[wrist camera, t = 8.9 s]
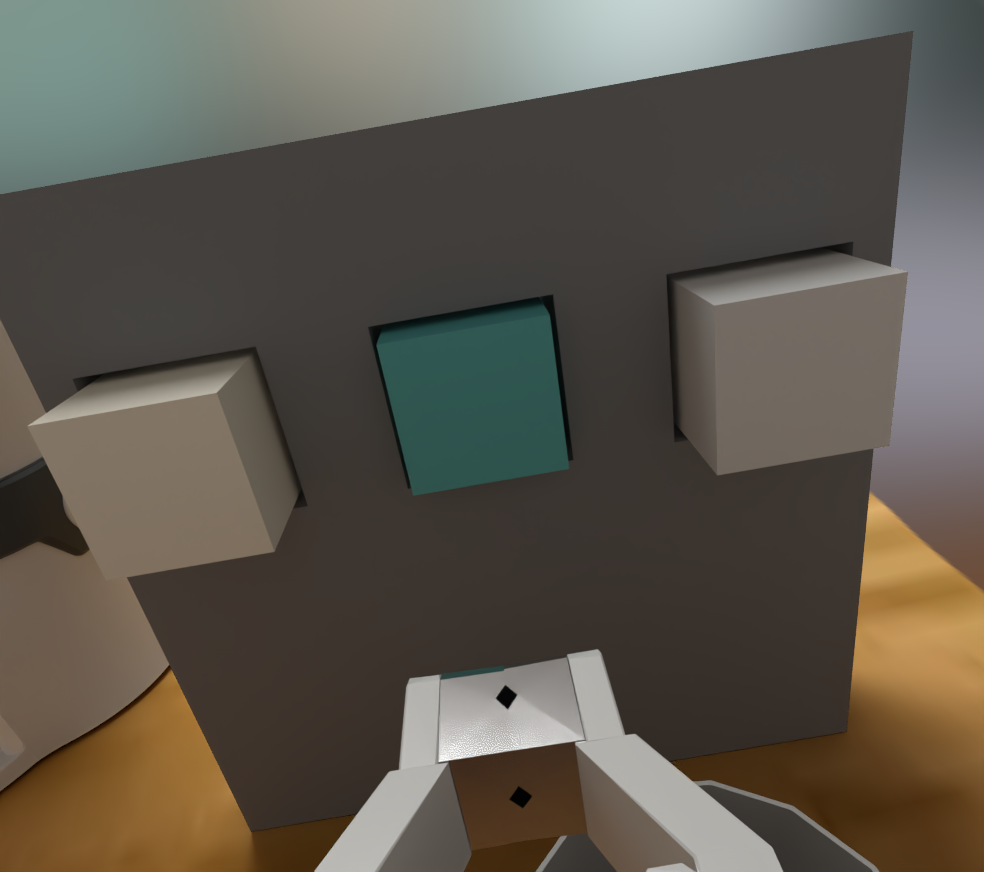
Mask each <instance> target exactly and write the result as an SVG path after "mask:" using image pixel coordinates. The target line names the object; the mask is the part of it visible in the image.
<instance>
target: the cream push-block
mask: <svg viewBox="0 0 984 872" xmlns="http://www.w3.org/2000/svg"><path fill="white" fill-rule="evenodd" d="M28 428H29V430H30V432H31V434H32V436H33V438H34V440H35V442H36V444H37V446H38V448H39V450H40V452H41V454H42V456H43V458H44V460H45V462H46V464H47V466H48V468H49V470H50V472H51V474H52V476H53V478H54V480H55V482H56V484H57V485H58V487H59V489H60V491H61V493H62V495H63V497H64V499H65V501H66V503H67V505H68V507H69V509H70V511H71V513H72V515H73V517H74V519H75V521H76V523H77V525H78V527H79V529H80V531H81V533H82V535H83V537H84V539H85V541H86V543H87V545H88V547H89V549H90V550H91V552H92V554H93V556H94V558H95V560H96V562H97V564H98V566H99V568H100V570H101V572H102V574H103V576H104V578H105V580H106V581H108V580H114V579H120V578H126V577H132V576H137V575H143V574H149V573H155V572H161V571H166V570H172V569H178V568H184V567H189V566H195V565H201V564H207V563H213V562H218V561H224V560H230V559H236V558H242V557H247V556H253V555H259V554H265V553H271V552H275V550H276V547H277V545H278V543H279V540H280V538H281V535H282V533H283V531H284V528H285V526H286V524H287V521H288V519H289V517H290V514H291V512H292V510H293V507H294V505H295V502H296V500H297V498H298V495H299V493H300V491H301V488H302V487H301V484H300V481H299V477H298V474H297V471H296V468H295V465H294V462H293V459H292V456H291V453H290V450H289V447H288V444H287V441H286V438H285V435H284V432H283V429H282V425H281V422H280V419H279V416H278V413H277V410H276V407H275V404H274V401H273V398H272V395H271V392H270V389H269V386H268V383H267V380H266V377H265V373H264V370H263V367H262V364H261V361H260V358H259V355H258V352H257V349H256V347H250V348H245V349H239V350H233V351H228V352H222V353H216V354H211V355H205V356H199V357H194V358H188V359H182V360H177V361H171V362H165V363H160V364H154V365H148V366H142V367H137V368H131V369H125V370H120V371H114V372H108V373H105V374H104V375H102V376H101V377H99V378H98V379H96V380H95V381H93V382H92V383H90V384H89V385H87V386H86V387H85V388H83V389H82V390H80V391H79V392H77V393H76V394H74V395H73V396H71V397H70V398H68V399H67V400H65V401H64V402H62V403H61V404H59V405H58V406H56V407H55V408H53V409H52V410H50V411H49V412H47V413H46V414H44V415H43V416H41V417H40V418H39V419H37V420H36V421H34V422H33V423H31V424H30V425H28Z"/></svg>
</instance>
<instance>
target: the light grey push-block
mask: <svg viewBox="0 0 984 872" xmlns="http://www.w3.org/2000/svg"><path fill="white" fill-rule="evenodd" d="M907 276H908V272H907V271H904V270H900V269H896V268H893V267H889V266H886V265H882V264H879V263H875V262H871V261H868V260H864V259H861V258H857V257H854V256H850V255H847V254H843V253H839V252H836V251H832V250H829V249H825V248H822V247H819V248H813V249H808V250H802V251H796V252H791V253H785V254H779V255H774V256H768V257H762V258H756V259H751V260H745V261H739V262H734V263H728V264H722V265H717V266H711V267H705V268H700V269H694V270H688V271H683V272H677V273H671V274H666V278H667V299H668V319H669V340H670V361H671V382H672V402H673V421H674V423H675V424H676V425H677V426H678V427H679V429H680V430H681V431H682V432H683V434H684V435H685V436H686V437H687V439H688V440H689V441H690V442H691V444H692V445H693V446H694V447H695V448H696V450H697V451H698V452H699V453H700V455H701V456H702V457H703V458H704V460H705V461H706V462H707V463H708V465H709V466H710V467H711V468H712V469H713V471H714V472H715V473H716V474H717V475H723V474H729V473H734V472H740V471H746V470H752V469H758V468H763V467H769V466H775V465H781V464H787V463H792V462H798V461H804V460H810V459H816V458H821V457H827V456H833V455H839V454H845V453H850V452H856V451H862V450H868V449H874V448H879V447H885V446H889V444H890V435H891V426H892V416H893V407H894V397H895V388H896V379H897V369H898V360H899V351H900V341H901V332H902V322H903V313H904V303H905V294H906V284H907Z"/></svg>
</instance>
